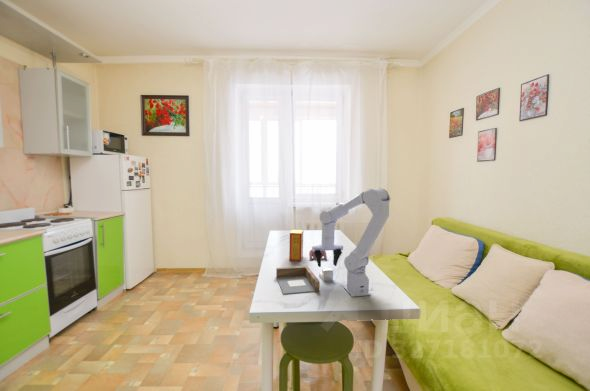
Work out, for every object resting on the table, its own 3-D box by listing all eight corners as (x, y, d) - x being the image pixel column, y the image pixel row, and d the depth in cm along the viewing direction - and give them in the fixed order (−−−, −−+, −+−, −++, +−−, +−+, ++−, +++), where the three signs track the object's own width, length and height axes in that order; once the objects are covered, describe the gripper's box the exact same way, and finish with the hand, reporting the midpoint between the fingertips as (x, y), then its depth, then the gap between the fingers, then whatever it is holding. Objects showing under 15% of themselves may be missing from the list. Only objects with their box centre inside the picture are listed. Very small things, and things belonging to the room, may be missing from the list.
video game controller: (326, 261, 149) (325, 248, 152) (327, 259, 145) (326, 247, 148) (309, 261, 149) (308, 248, 151) (309, 259, 145) (309, 247, 147)
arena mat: (318, 291, 107) (318, 290, 107) (283, 294, 103) (283, 293, 103) (307, 274, 124) (307, 273, 124) (276, 277, 121) (276, 275, 121)
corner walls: (319, 291, 106) (319, 281, 106) (283, 295, 103) (283, 284, 103) (307, 274, 124) (307, 265, 124) (276, 277, 121) (276, 268, 120)
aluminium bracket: (332, 280, 118) (333, 270, 118) (323, 281, 117) (323, 270, 117) (328, 275, 124) (328, 265, 124) (319, 276, 123) (319, 266, 123)
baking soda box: (291, 255, 154) (292, 228, 153) (302, 255, 153) (303, 229, 152) (289, 260, 144) (289, 232, 143) (300, 261, 144) (301, 232, 142)
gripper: (339, 234, 123) (338, 261, 124) (310, 235, 120) (309, 263, 121) (345, 237, 116) (344, 267, 117) (314, 238, 113) (313, 269, 114)
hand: (327, 265), depth 119 cm, fingers open, 7 cm apart
